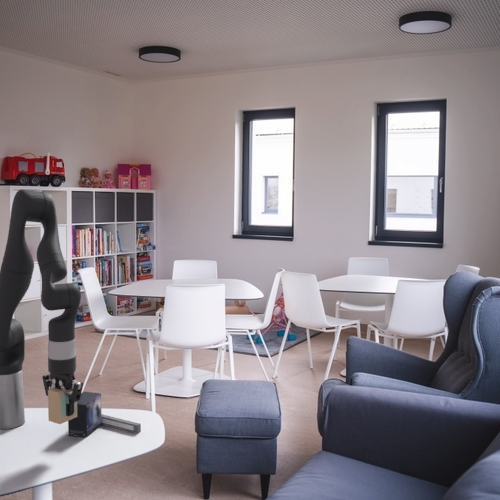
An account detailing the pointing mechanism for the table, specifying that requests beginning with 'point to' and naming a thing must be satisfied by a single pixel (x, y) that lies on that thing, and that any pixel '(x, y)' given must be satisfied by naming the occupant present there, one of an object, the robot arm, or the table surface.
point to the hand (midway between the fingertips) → (63, 413)
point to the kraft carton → (59, 406)
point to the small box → (86, 415)
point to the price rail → (121, 424)
